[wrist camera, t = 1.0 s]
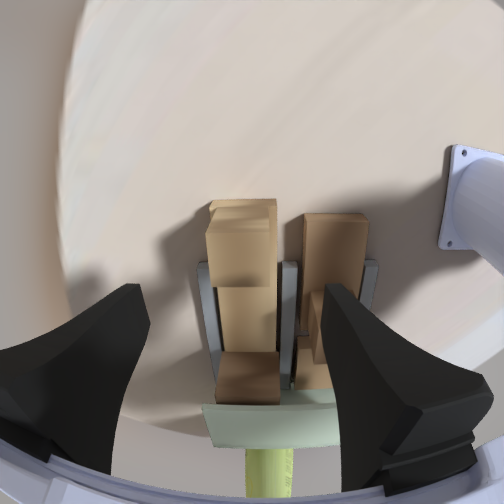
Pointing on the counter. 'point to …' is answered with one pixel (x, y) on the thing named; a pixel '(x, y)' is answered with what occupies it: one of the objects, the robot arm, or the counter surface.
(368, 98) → the counter surface
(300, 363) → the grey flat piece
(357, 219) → the block brown
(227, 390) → the cube
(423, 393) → the robot arm
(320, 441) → the shelter
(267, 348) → the tan stepped wooden piece
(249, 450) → the tube
